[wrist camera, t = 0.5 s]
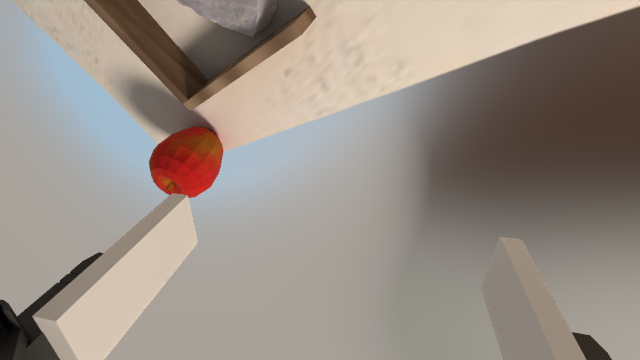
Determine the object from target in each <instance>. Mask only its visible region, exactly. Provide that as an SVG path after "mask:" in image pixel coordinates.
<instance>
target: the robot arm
mask: <svg viewBox="0 0 640 360" xmlns="http://www.w3.org/2000/svg"><path fill="white" fill-rule="evenodd" d="M197 243H198V242H197V238H196V232H195V228H194V223H193V218H192V213H191V208H190V203H189V199H188V195H182V194H175V193H172V194H171V195H170V196H168V198H166V199H165V200H164V201H163V202H162V203H161V204H159V206H157V207H156V208H155V209H154V210H153V211H151V212H150V213H149V214H148V215H147V216H146V217H145V218H143V219H142V220H141V221H140V222H139V223H138V224H137V225H135V226H134V227H133V228H132V229H131V230H130V231H129V232H127V233H126V234H125V235H124V236H123V237H122V238H121V239H120V240H118V241H117V242H116V243H115V244H114V245H113V246H112V247H110V248H109V249H108V250H107V251H106V252H105V253H97V254H95V255H93V256H92V257H90V258H88V259H86V260H84V261H82V262H81V263H80V264H79V265H78V266H77V267H75V268H74V269H73V270H72V271H71V272H70V274H67V275H66V276H65V277H64V278H62V279H61V280H60V282H59V283H56V284H55V285H54V286H53V287H52V288H51V289H49V290H48V291H47V292H46V293H45V294H43V295H42V296H41V297H40V298H39V299H37V300H36V301H35V302H34V303H33V304H31V305H30V306H29V307H28V308H27V309H26V310H24V312H22V313H21V314H20V315H19V316H16V315H15V313H14V312H13V310H12V308H11V307H10V305H9V304H8V303H7V302H6V301H4V300H0V360H104V359H105V358H106V357H107V356H108V354H109V353H110V352H111V351H112V349H113V348H114V347H115V346H116V344H117V343H118V342H119V341H120V339H121V338H122V337H123V336H124V334H125V333H126V332H127V331H128V329H129V328H130V327H131V326H132V324H133V323H134V322H135V321H136V319H137V318H138V317H139V316H140V314H141V313H142V312H143V311H144V309H145V308H146V307H147V306H148V304H149V303H150V302H151V301H152V299H153V298H154V297H155V296H156V294H157V293H158V292H159V291H160V289H161V288H162V287H163V286H164V284H165V283H166V282H167V281H168V279H169V278H170V277H171V276H172V274H173V273H174V272H175V271H176V269H177V268H178V267H179V265H180V264H181V263H182V262H183V261H184V259H185V258H186V257H187V256H188V254H189V253H190V252H191V251H192V249H193V248H194V247H195V246H196V244H197ZM481 289H482V292H483V295H484V299H485V302H486V305H487V309H488V312H489V315H490V318H491V322H492V325H493V328H494V331H495V334H496V338H497V341H498V344H499V347H500V351H501V354H502V357H503V360H612V359H611V358H610V356H609V355H608V353H607V352H606V351H605V350H604V349H603V348H602V347H601V346H600V345H599V344H598V343H597V342H596V341H595V340H594V339H593V338H592V337H591V336H590V335H585V334H579V333H573V332H571V330H570V329H569V327H568V325H567V323H566V321H565V319H564V317H563V316H562V314H561V312H560V310H559V309H558V306H557V305H556V303H555V301H554V299H553V297H552V295H551V293H550V292H549V290H548V288H547V286H546V284H545V282H544V280H543V278H542V277H541V275H540V273H539V271H538V269H537V267H536V265H535V264H534V262H533V260H532V258H531V256H530V254H529V252H528V251H527V249H526V247H525V245H524V243H523V242H522V240H521V239H514V238H506V237H500V238H499V241H498V244H497V246H496V249H495V251H494V254H493V257H492V259H491V262H490V265H489V268H488V270H487V273H486V275H485V278H484V281H483V283H482V286H481Z"/></svg>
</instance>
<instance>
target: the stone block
mask: <svg viewBox="0 0 640 360" xmlns="http://www.w3.org/2000/svg"><path fill="white" fill-rule="evenodd" d="M177 1H178V2H179V3H180V4H182V5H184V6H188V7H190V8H192V9H193V10H194V11H195V12H196V13H197V14H199V15H201V16H202V17H204V18H206V19H208V20H210V21H213V22H215V23H218V24H219V25H221V26H223V27H224V28H228V29H230V30H236V31H237V32H238V33H242V34H245V35H248V36H251V37H254V36H256V35H258V34H260V33H261V32H263V31H264V30H265V29H266V28H267V27H268V25H269V24H270V22H271V20H272V17H273V15H274V13H275V12H276V9H277V7H278V0H177Z"/></svg>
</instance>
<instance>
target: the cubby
mask: <svg viewBox="0 0 640 360" xmlns="http://www.w3.org/2000/svg"><path fill="white" fill-rule="evenodd" d="M84 1H85V2H86V3H87V4H88V5H89V6H90V7H91V8H92V9H93V10H94V11H95V12H96V13H97V14H98V15H99V16H100V18H101V19H102V20H103V21H104V22H105V23H106V24H107V25H108V26H109V27H110V28H111V29H112V30H113V31H114V32H115V33H116V34H117V35H118V36H119V37H120V39H121V40H122V41H123V42H124V43H125V44H126V45H127V46H128V47H129V48H130V49H131V50H132V51H133V52H134V53H135V54H136V55H137V56H138V57H139V58H140V59H141V61H142V62H143V63H144V64H145V65H146V66H147V67H148V68H149V69H150V70H151V71H152V72H153V73H154V74H155V75H156V76H157V77H158V78H159V79H160V80H161V81H162V83H163V84H164V85H165V86H166V87H167V88H168V89H169V90H170V91H171V92H172V93H173V94H174V95H175V96H176V97H177V98H178V99H179V100H180V101H181V102H182V103H183V105H184V106H185V107H186V108H187V109H188V110H189V111H191V110H193V109H194V108H195V107H197V106H198V105H200V104H201V103H203V102H204V101H206V100H207V99H209V98H210V97H211V96H213V95H214V94H216V93H217V92H219V91H220V90H222V89H223V88H225V87H226V86H227V85H229V84H230V83H232V82H233V81H235V80H236V79H238V78H239V77H241V76H242V75H244V74H245V73H246V72H248V71H249V70H251V69H252V68H254V67H255V66H257V65H258V64H260V63H261V62H262V61H264V60H265V59H267V58H268V57H270V56H271V55H273V54H274V53H276V52H277V51H278V50H280V49H281V48H283V47H284V46H286V45H287V44H289V43H290V42H292V41H293V40H294V39H296V38H297V37H299V36H300V35H302V34H303V33H304V31H305V30H306V29H307V28H308V26H309V25H310V24H311V23H312V22H313V20H314V19H315V18H316V16H315V14H314V12H313V11H312V9H311V7H308V8H307V9H306V10H304V11H303V12H301V13H300V14H299V15H297V16H296V17H295V18H293V19H292V20H291V21H289V22H288V23H287V24H285V25H284V26H282V27H281V28H280V29H278V30H277V31H276V32H274V33H273V34H272V35H270V36H269V37H268V38H266V39H265V40H263V41H262V42H261V43H259V44H258V45H257V46H255V47H254V48H253V49H251V50H250V51H249V52H247V53H246V54H244V55H243V56H242V57H240V58H239V59H238V60H236V61H235V62H234V63H232V64H231V65H230V66H228V67H227V68H226V69H224V70H223V71H221V72H220V73H219V74H217V75H216V76H215V77H213V78H212V79H211V80H209V81H207V80H206V78H205V77H204V76H203V75H202V74H201V73H200V72H199V70H198V69H197V68H196V67H195V66H194V65H193V64H192V62H191V61H190V60H189V59H188V58H187V57H186V56H185V54H184V53H183V52H182V51H181V50H180V49H179V48H178V46H177V45H176V44H175V43H174V42H173V41H172V40H171V38H170V37H169V36H168V35H167V34H166V33H165V32H164V30H163V29H162V28H161V27H160V26H159V25H158V23H157V22H156V21H155V20H154V19H153V18H152V17H151V15H150V14H149V13H148V12H147V11H146V10H145V9H144V7H143V6H142V5H141V4H140V3H139V2H138V1H137V0H84Z"/></svg>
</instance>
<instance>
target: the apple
mask: <svg viewBox="0 0 640 360" xmlns="http://www.w3.org/2000/svg"><path fill="white" fill-rule="evenodd" d="M222 156H223V148H222V144H221V142H220V140H219V139H218V137H217V135H216V134H214V133H213V132H211V131H209V130H207V129H205V128H203V127H191V128H188V129H185V130H182V131H180V132H177V133H174V134H172V135H170V136H169V137H168V138H166V139H165V140H164V141H162V142H161V143H160V144H158V145H157V147H156V148H155V149H154V150H153V153H152V155H151V158H150V161H149V165H150V171H151V176H152V178H153V181H154V182H155V184H156V185H157V186H158V187H159V188H160V189H161V190H162V191H164V192H165V193H167V194H169V195H171V194H172V193H175V194H182V195H188V198H191V197H196V196H197V195H199V194H200V193H202V192H203V191H205V190H207V189H208V188H210V187H211V185H212V184H213V182H214V180H215V179H216V177H217V175H218V173H219V170H220V167H221V161H222Z"/></svg>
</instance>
